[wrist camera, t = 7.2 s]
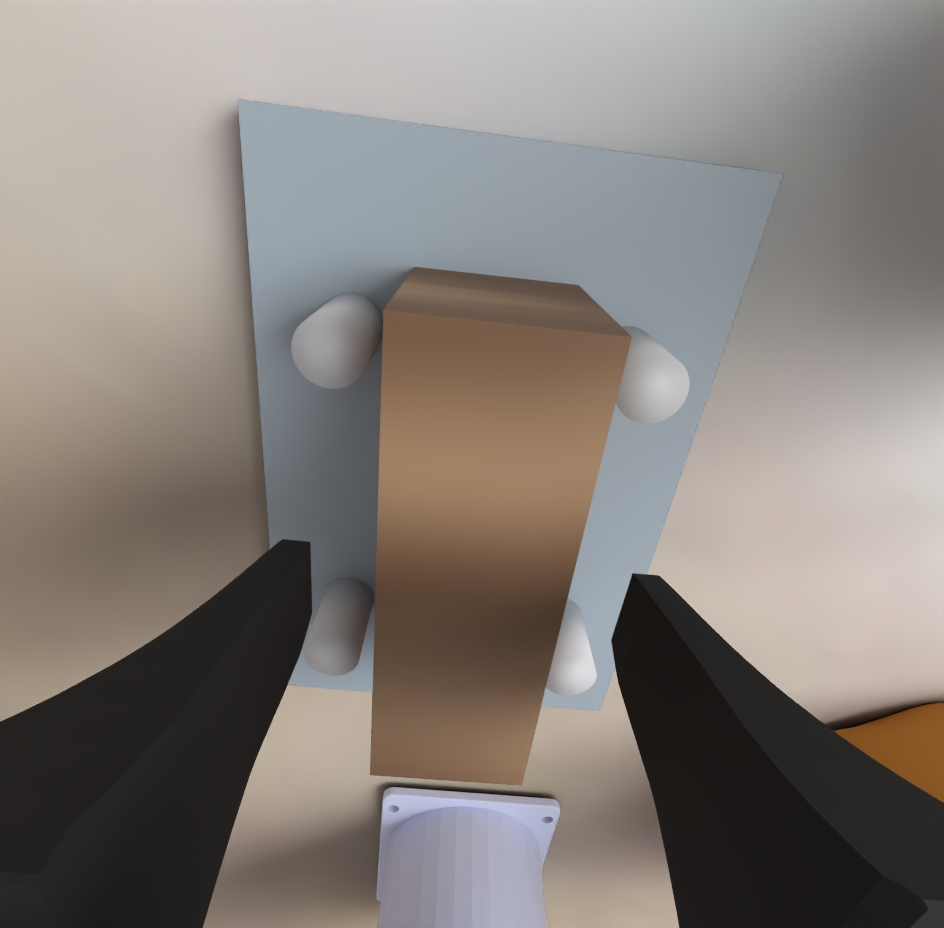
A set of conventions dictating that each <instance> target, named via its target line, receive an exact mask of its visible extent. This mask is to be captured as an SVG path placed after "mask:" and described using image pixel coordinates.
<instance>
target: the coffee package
mask: <svg viewBox="0 0 944 928" xmlns="http://www.w3.org/2000/svg"><path fill="white" fill-rule="evenodd" d="M834 732H836V733H837V734H838V735H840V736H841V737H843V738H844V739H845V740H847V741H848V742H850V743H851V744H853V745H854V746H856V747H857V748H859V749H860V750H861V751H863V752H864V753H866V754H867V755H869V756H870V757H872V758H873V759H875V760H876V761H878V762H879V763H881V764H882V765H884V766H885V767H887V768H888V769H890V770H891V771H893V772H895V773H896V774H898V775H899V776H901V777H902V778H904V779H906V780H907V781H909V782H910V783H912V784H914V785H915V786H917V787H919V788H920V789H922V790H924V791H925V792H927V793H928V794H930V795H932V796H933V797H935V798H937V799H938V800H940V801H942V802H943V803H944V702H943V703H934V704H927V705H923V706H919V707H915V708H911V709H908V710H905V711H902V712H899V713H896V714H893V715H890V716H887V717H884V718H881V719H878V720H875V721H872V722H868V723H865V724H862V725H859V726H856V727H852V728H847V729H841V730H835V731H834Z"/></svg>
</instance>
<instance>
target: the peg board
mask: <svg viewBox="0 0 944 928" xmlns="http://www.w3.org/2000/svg"><path fill="white" fill-rule="evenodd" d="M238 112H239V126H240V139H241V153H242V167H243V181H244V195H245V209H246V223H247V237H248V251H249V265H250V279H251V292H252V306H253V320H254V334H255V348H256V362H257V376H258V390H259V404H260V418H261V432H262V446H263V459H264V473H265V487H266V501H267V515H268V529H269V543H270V549H271V548H272V547H273V546H274V545H275V544H277V543H278V542H279V541H280V540H282V539H288V540H298V541H308V542H310V544H311V583H312V616H311V619H310V623H309V626H308V630H307V633H306V637H305V640H304V643H303V647H302V650H301V653H300V656H299V659H298V661H297V664H296V666H295V668H294V671H293V673H292V675H291V678H290V680H289V683H288V685H292V686H304V687H316V688H328V689H340V690H352V691H364V692H373V658H374V623H375V589H376V554H377V519H378V484H379V449H380V414H381V380H382V345H383V310H384V309H385V307H386V306H387V304H388V303H389V302H390V300H391V299H392V298H393V296H394V295H395V293H396V292H397V291H398V289H399V288H400V287H401V285H402V284H403V282H404V281H405V280H406V278H407V277H408V275H409V274H410V273H411V271H412V270H413V269H414V267H422V268H431V269H440V270H449V271H458V272H467V273H476V274H485V275H493V276H502V277H511V278H520V279H529V280H538V281H547V282H556V283H565V284H574V285H579V286H580V287H581V288H582V289H583V290H584V291H585V292H586V293H587V294H588V295H589V296H590V297H591V298H592V299H593V300H594V301H595V302H597V303H598V304H599V305H600V306H601V307H602V308H603V309H604V310H605V311H606V312H607V313H608V314H609V315H610V316H611V317H612V318H613V319H614V320H615V321H616V322H617V323H618V324H619V325H620V326H621V327H622V328H623V329H624V330H625V331H626V332H627V333H628V334H630V335H631V336H632V339H631V343H630V347H629V351H628V355H627V360H626V364H625V368H624V372H623V376H622V380H621V384H620V388H619V392H618V396H617V400H616V404H615V408H614V412H613V416H612V420H611V424H610V429H609V433H608V437H607V441H606V445H605V449H604V453H603V457H602V461H601V465H600V469H599V473H598V477H597V481H596V485H595V489H594V493H593V498H592V502H591V506H590V510H589V514H588V518H587V522H586V526H585V530H584V534H583V538H582V542H581V546H580V550H579V554H578V558H577V562H576V566H575V571H574V575H573V579H572V583H571V587H570V591H569V595H568V599H567V603H566V607H565V611H564V615H563V619H562V623H561V627H560V631H559V635H558V640H557V644H556V648H555V652H554V656H553V660H552V664H551V668H550V672H549V676H548V680H547V684H546V688H545V692H544V696H543V700H542V704H541V706H544V707H556V708H568V709H580V710H592V711H600V710H601V707H602V704H603V701H604V699H605V696H606V693H607V690H608V687H609V684H610V681H611V678H612V675H613V672H614V669H615V662H614V655H613V649H612V643H611V639H612V635H613V632H614V629H615V626H616V623H617V620H618V617H619V614H620V611H621V607H622V604H623V601H624V598H625V595H626V592H627V589H628V586H629V583H630V579H631V576H632V573H636V574H647V573H648V570H649V567H650V564H651V561H652V558H653V555H654V552H655V549H656V546H657V543H658V540H659V537H660V535H661V532H662V529H663V526H664V523H665V520H666V517H667V514H668V511H669V508H670V505H671V502H672V499H673V496H674V494H675V491H676V488H677V485H678V482H679V479H680V476H681V473H682V470H683V467H684V464H685V461H686V458H687V455H688V453H689V450H690V447H691V444H692V441H693V438H694V435H695V432H696V429H697V426H698V423H699V420H700V417H701V414H702V412H703V409H704V406H705V403H706V400H707V397H708V394H709V391H710V388H711V385H712V382H713V379H714V376H715V373H716V371H717V368H718V365H719V362H720V359H721V356H722V353H723V350H724V347H725V344H726V341H727V338H728V335H729V332H730V330H731V327H732V324H733V321H734V318H735V315H736V312H737V309H738V306H739V303H740V300H741V297H742V294H743V291H744V289H745V286H746V283H747V280H748V277H749V274H750V271H751V268H752V265H753V262H754V259H755V256H756V253H757V250H758V248H759V245H760V242H761V239H762V236H763V233H764V230H765V227H766V224H767V221H768V218H769V215H770V212H771V209H772V207H773V204H774V201H775V198H776V195H777V192H778V189H779V186H780V183H781V180H782V177H783V174H780V173H772V172H765V171H758V170H751V169H743V168H736V167H729V166H721V165H714V164H707V163H700V162H692V161H685V160H678V159H671V158H663V157H656V156H649V155H642V154H634V153H627V152H620V151H612V150H605V149H598V148H591V147H583V146H576V145H569V144H562V143H554V142H547V141H540V140H533V139H525V138H518V137H511V136H503V135H496V134H489V133H482V132H474V131H467V130H460V129H453V128H445V127H438V126H431V125H424V124H416V123H409V122H402V121H394V120H387V119H380V118H373V117H365V116H358V115H351V114H344V113H336V112H329V111H322V110H315V109H307V108H300V107H293V106H286V105H278V104H271V103H264V102H256V101H249V100H242V99H238Z"/></svg>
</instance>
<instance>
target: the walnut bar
mask: <svg viewBox="0 0 944 928" xmlns="http://www.w3.org/2000/svg"><path fill="white" fill-rule="evenodd" d="M631 339H632V336H631V335H630V334H628V333H627V332H626V331H625V330H624V329H623V328H622V327H621V326H620V325H619V324H618V323H617V322H616V321H615V320H614V319H613V318H612V317H611V316H610V315H609V314H608V313H607V312H606V311H605V310H604V309H603V308H602V307H601V306H600V305H599V304H598V303H597V302H595V301H594V300H593V299H592V298H591V297H590V296H589V295H588V294H587V293H586V292H585V291H584V290H583V289H582V288H581V287H580V286H579V285H574V284H565V283H556V282H547V281H538V280H529V279H520V278H511V277H502V276H493V275H485V274H476V273H467V272H458V271H449V270H440V269H431V268H422V267H414V269H413V270H412V271H411V273H410V274H409V275H408V277H407V278H406V280H405V281H404V282H403V284H402V285H401V287H400V288H399V289H398V291H397V292H396V293H395V295H394V296H393V298H392V299H391V300H390V302H389V303H388V304H387V306H386V307H385V309H384V310H383V345H382V380H381V414H380V449H379V484H378V519H377V554H376V589H375V623H374V658H373V693H372V728H371V763H370V775H377V776H392V777H406V778H421V779H435V780H450V781H464V782H479V783H493V784H508V785H522V782H523V778H524V773H525V769H526V765H527V761H528V757H529V753H530V749H531V745H532V741H533V737H534V733H535V729H536V725H537V721H538V717H539V713H540V709H541V704H542V700H543V696H544V692H545V688H546V684H547V680H548V676H549V672H550V668H551V664H552V660H553V656H554V652H555V648H556V644H557V640H558V635H559V631H560V627H561V623H562V619H563V615H564V611H565V607H566V603H567V599H568V595H569V591H570V587H571V583H572V579H573V575H574V571H575V566H576V562H577V558H578V554H579V550H580V546H581V542H582V538H583V534H584V530H585V526H586V522H587V518H588V514H589V510H590V506H591V502H592V498H593V493H594V489H595V485H596V481H597V477H598V473H599V469H600V465H601V461H602V457H603V453H604V449H605V445H606V441H607V437H608V433H609V429H610V424H611V420H612V416H613V412H614V408H615V404H616V400H617V396H618V392H619V388H620V384H621V380H622V376H623V372H624V368H625V364H626V360H627V355H628V351H629V347H630V343H631Z"/></svg>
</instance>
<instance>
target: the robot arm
mask: <svg viewBox="0 0 944 928" xmlns="http://www.w3.org/2000/svg"><path fill="white" fill-rule="evenodd" d="M311 616H312V583H311V544H310V542H308V541H298V540H288V539H282V540H280V541H279V542H278V543H277V544H275V545H274V546H273V547H272V548H271V549H269V550H268V551H267V552H266V553H265V554H264V555H262V556H261V557H260V558H259V559H258V560H257V561H256V562H254V563H253V564H252V565H251V566H250V567H248V568H247V569H246V570H245V571H244V572H243V573H241V574H240V575H239V576H238V577H237V578H235V579H234V580H233V581H232V582H230V583H229V584H228V585H227V586H226V587H224V588H223V589H222V590H221V591H219V592H218V593H217V594H216V595H214V596H213V597H212V598H211V599H209V600H208V601H207V602H205V603H204V604H203V605H201V606H200V607H199V608H197V609H196V610H195V611H193V612H192V613H191V614H189V615H188V616H186V617H185V618H184V619H182V620H181V621H180V622H178V623H177V624H176V625H174V626H173V627H171V628H170V629H169V630H167V631H166V632H164V633H163V634H161V635H160V636H158V637H157V638H155V639H154V640H152V641H151V642H149V643H147V644H146V645H144V646H143V647H141V648H139V649H138V650H136V651H135V652H133V653H131V654H130V655H128V656H126V657H125V658H123V659H121V660H120V661H118V662H116V663H115V664H113V665H111V666H109V667H107V668H106V669H104V670H102V671H100V672H98V673H96V674H94V675H93V676H91V677H89V678H87V679H85V680H83V681H82V682H80V683H78V684H76V685H74V686H72V687H71V688H69V689H67V690H65V691H63V692H61V693H59V694H57V695H55V696H54V697H52V698H49V699H47V700H45V701H43V702H41V703H39V704H37V705H35V706H33V707H31V708H29V709H27V710H25V711H23V712H21V713H18V714H16V715H14V716H12V717H10V718H8V719H5V720H3V721H1V722H0V928H203V925H204V921H205V918H206V914H207V911H208V908H209V904H210V901H211V897H212V894H213V890H214V887H215V884H216V880H217V877H218V874H219V871H220V867H221V864H222V861H223V858H224V854H225V851H226V848H227V845H228V841H229V838H230V835H231V832H232V828H233V825H234V822H235V819H236V816H237V813H238V810H239V807H240V804H241V800H242V797H243V794H244V791H245V788H246V785H247V782H248V779H249V776H250V773H251V771H252V768H253V765H254V763H255V760H256V757H257V755H258V752H259V750H260V748H261V745H262V743H263V741H264V738H265V736H266V734H267V731H268V729H269V727H270V724H271V722H272V720H273V717H274V715H275V713H276V710H277V708H278V706H279V704H280V701H281V699H282V697H283V694H284V692H285V690H286V687H287V685H288V683H289V680H290V678H291V675H292V673H293V671H294V668H295V666H296V664H297V661H298V659H299V656H300V653H301V650H302V647H303V643H304V640H305V637H306V633H307V630H308V626H309V623H310V619H311ZM611 643H612V649H613V655H614V662H615V667H616V672H617V678H618V683H619V686H620V690H621V693H622V697H623V700H624V703H625V706H626V710H627V713H628V716H629V719H630V723H631V726H632V729H633V732H634V735H635V739H636V742H637V745H638V748H639V751H640V755H641V758H642V761H643V764H644V767H645V770H646V774H647V777H648V780H649V783H650V787H651V791H652V794H653V798H654V802H655V806H656V810H657V815H658V819H659V824H660V829H661V834H662V838H663V843H664V848H665V853H666V857H667V863H668V868H669V873H670V878H671V884H672V889H673V894H674V900H675V905H676V910H677V916H678V922H679V928H944V803H943V802H942V801H940V800H938V799H937V798H935V797H933V796H932V795H930V794H928V793H927V792H925V791H924V790H922V789H920V788H919V787H917V786H915V785H914V784H912V783H910V782H909V781H907V780H906V779H904V778H902V777H901V776H899V775H898V774H896V773H895V772H893V771H891V770H890V769H888V768H887V767H885V766H884V765H882V764H881V763H879V762H878V761H876V760H875V759H873V758H872V757H870V756H869V755H867V754H866V753H864V752H863V751H861V750H860V749H859V748H857V747H856V746H854V745H853V744H851V743H850V742H848V741H847V740H845V739H844V738H843V737H841V736H840V735H838V734H837V733H836V732H834V731H833V730H831V729H830V728H829V727H827V726H826V725H825V724H823V723H822V722H821V721H819V720H818V719H817V718H815V717H814V716H813V715H811V714H810V713H809V712H808V711H806V710H805V709H804V708H802V707H801V706H800V705H799V704H797V703H796V702H795V701H793V700H792V699H791V698H790V697H788V696H787V695H786V694H785V693H783V692H782V691H781V690H780V689H779V688H777V687H776V686H775V685H774V684H773V683H771V682H770V681H769V680H768V679H767V678H766V677H765V676H764V675H762V674H761V673H760V672H759V671H758V670H757V669H756V668H754V667H753V666H752V665H751V664H750V663H749V662H748V661H746V660H745V659H744V658H743V657H742V656H741V655H740V654H739V653H738V652H737V651H736V650H735V649H733V648H732V647H731V646H730V645H729V644H728V643H727V642H726V641H725V640H724V639H723V638H722V637H721V636H720V635H719V634H718V633H717V632H716V631H715V630H714V629H713V628H712V627H711V626H710V625H709V624H708V623H707V622H706V621H705V620H704V619H703V618H702V617H701V616H700V615H699V614H698V613H697V612H696V611H695V610H694V609H693V608H692V607H691V606H690V605H689V604H688V603H687V602H686V601H685V600H684V599H683V598H682V597H681V596H680V595H679V594H678V593H677V592H676V591H675V590H674V589H673V588H672V587H671V586H670V585H669V584H667V583H666V582H665V581H664V580H663V579H662V578H661V577H660V576H657V575H647V574H636V573H632V576H631V579H630V583H629V586H628V589H627V592H626V595H625V598H624V601H623V604H622V607H621V611H620V614H619V617H618V620H617V623H616V626H615V629H614V632H613V635H612V639H611ZM559 816H560V805H559V803H558V801H556V800H554V799H549V798H535V797H522V796H508V795H495V794H482V793H468V792H455V791H441V790H428V789H415V788H401V787H391V788H388V789H386V790H385V791H384V794H383V801H382V816H381V831H380V846H379V861H378V876H377V891H376V898H377V900H378V901H379V902H380V910H379V918H378V925H377V928H547V921H546V911H545V901H544V890H543V880H542V870H541V869H542V866H543V863H544V861H545V858H546V855H547V852H548V849H549V846H550V843H551V840H552V837H553V834H554V831H555V828H556V825H557V822H558V819H559Z"/></svg>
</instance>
